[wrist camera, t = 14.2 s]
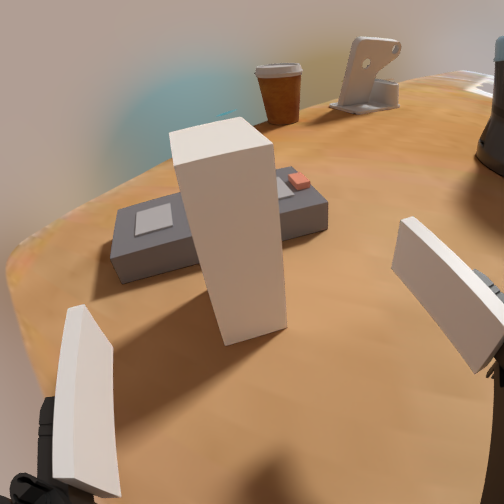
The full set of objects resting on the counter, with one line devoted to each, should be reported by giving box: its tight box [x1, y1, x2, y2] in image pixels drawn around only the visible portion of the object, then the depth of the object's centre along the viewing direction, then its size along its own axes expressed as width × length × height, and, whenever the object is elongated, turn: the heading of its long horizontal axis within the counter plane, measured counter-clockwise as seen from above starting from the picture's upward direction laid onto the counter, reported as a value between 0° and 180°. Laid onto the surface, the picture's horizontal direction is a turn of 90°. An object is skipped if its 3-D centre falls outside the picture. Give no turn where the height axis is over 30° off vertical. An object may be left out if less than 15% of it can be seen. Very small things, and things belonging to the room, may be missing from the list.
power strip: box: [110, 166, 328, 284], centre depth 31 cm, size 20×9×4 cm, turn 106°
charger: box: [169, 117, 287, 346], centre depth 20 cm, size 4×6×13 cm
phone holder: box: [330, 37, 401, 114], centre depth 63 cm, size 17×10×18 cm, turn 120°
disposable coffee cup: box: [254, 63, 303, 125], centre depth 58 cm, size 10×10×12 cm
